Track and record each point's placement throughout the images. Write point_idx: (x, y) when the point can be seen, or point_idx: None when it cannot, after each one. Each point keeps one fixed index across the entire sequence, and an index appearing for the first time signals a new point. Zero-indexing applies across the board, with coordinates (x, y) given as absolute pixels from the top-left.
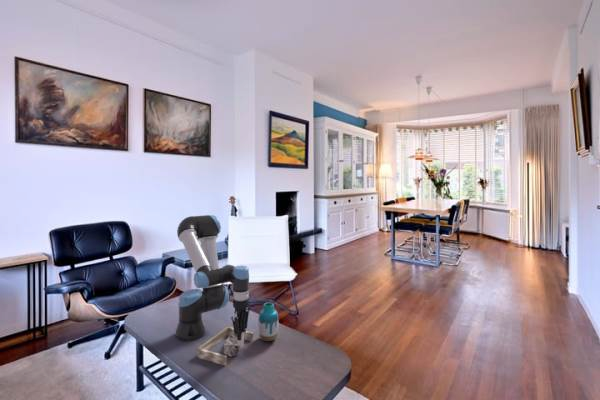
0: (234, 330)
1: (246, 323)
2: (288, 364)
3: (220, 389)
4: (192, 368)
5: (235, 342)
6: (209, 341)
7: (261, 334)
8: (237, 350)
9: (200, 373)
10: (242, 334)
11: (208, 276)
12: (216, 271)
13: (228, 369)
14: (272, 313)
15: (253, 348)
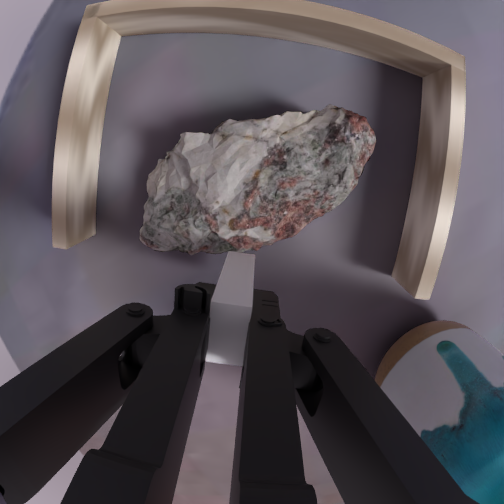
0: (93, 333)
1: (316, 430)
2: (219, 469)
3: None
4: (30, 84)
5: (265, 213)
6: (197, 5)
7: (391, 375)
8: (210, 252)
9: (11, 148)
10: (212, 355)
11: None
12: None
13: (68, 265)
14: None
15: (305, 320)
